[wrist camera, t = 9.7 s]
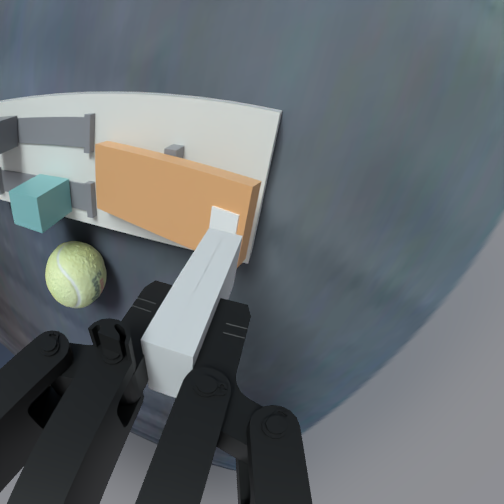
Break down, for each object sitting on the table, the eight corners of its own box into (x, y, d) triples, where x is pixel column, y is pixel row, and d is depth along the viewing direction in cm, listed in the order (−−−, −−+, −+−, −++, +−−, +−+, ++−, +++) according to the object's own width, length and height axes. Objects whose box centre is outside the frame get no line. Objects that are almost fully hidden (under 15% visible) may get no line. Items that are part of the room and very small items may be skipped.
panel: (6, 190, 25) (-14, 202, 22) (-1, 100, 19) (-23, 107, 16) (252, 249, 24) (244, 274, 21) (282, 110, 18) (278, 114, 15)
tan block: (108, 202, 21) (95, 208, 20) (107, 140, 18) (93, 144, 17) (245, 258, 18) (235, 269, 17) (261, 181, 15) (251, 187, 14)
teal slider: (43, 203, 22) (14, 223, 19) (39, 173, 20) (8, 191, 17) (72, 211, 22) (42, 233, 18) (68, 178, 20) (36, 198, 17)
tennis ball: (74, 333, 24) (78, 293, 20) (32, 290, 24) (30, 245, 20) (111, 297, 29) (124, 256, 26) (71, 261, 29) (77, 217, 26)
